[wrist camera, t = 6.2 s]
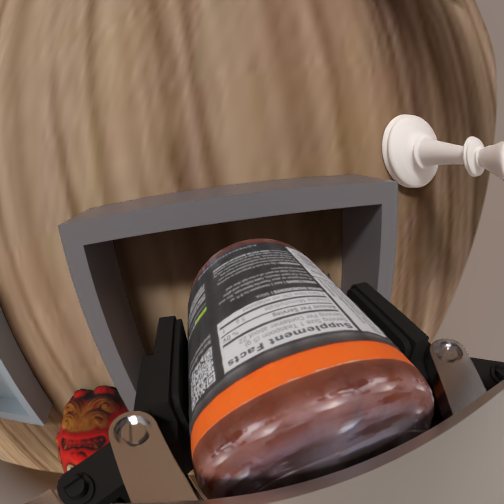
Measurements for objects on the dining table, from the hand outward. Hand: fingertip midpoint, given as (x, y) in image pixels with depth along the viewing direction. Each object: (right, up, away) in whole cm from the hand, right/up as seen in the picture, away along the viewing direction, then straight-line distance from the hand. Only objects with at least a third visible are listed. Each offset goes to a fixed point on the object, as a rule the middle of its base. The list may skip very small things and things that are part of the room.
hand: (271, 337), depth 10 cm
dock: (-1, +1, +6) cm, 7 cm away
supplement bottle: (-1, +1, +3) cm, 3 cm away
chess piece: (+10, +10, +6) cm, 15 cm away
